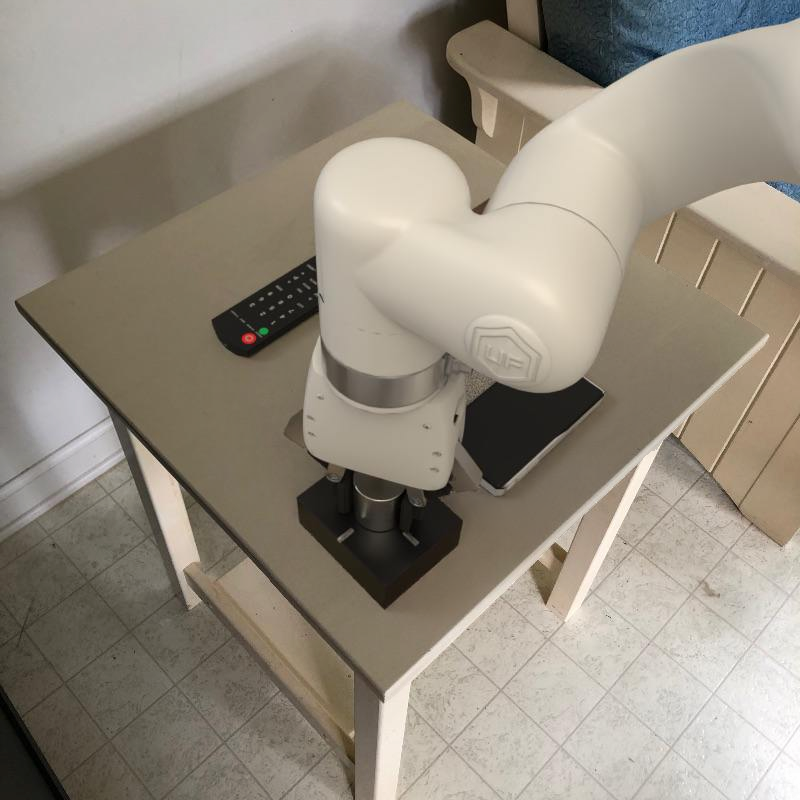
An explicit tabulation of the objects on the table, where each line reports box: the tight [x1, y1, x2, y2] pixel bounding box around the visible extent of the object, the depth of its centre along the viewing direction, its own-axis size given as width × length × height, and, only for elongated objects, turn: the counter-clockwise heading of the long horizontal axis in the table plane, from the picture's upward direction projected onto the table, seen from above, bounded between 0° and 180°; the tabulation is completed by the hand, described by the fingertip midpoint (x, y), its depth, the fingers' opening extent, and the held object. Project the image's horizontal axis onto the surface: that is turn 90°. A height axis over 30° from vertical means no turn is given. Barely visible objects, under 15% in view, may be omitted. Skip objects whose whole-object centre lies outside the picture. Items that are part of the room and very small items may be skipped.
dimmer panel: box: [296, 475, 464, 610], centre depth 64 cm, size 10×8×4 cm
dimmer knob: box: [353, 471, 406, 532], centre depth 60 cm, size 4×4×5 cm
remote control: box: [210, 254, 319, 357], centre depth 81 cm, size 5×24×1 cm, turn 135°
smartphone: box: [461, 375, 606, 497], centre depth 72 cm, size 8×1×15 cm
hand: (379, 505), depth 62 cm, fingers closed on dimmer knob, 4 cm apart
